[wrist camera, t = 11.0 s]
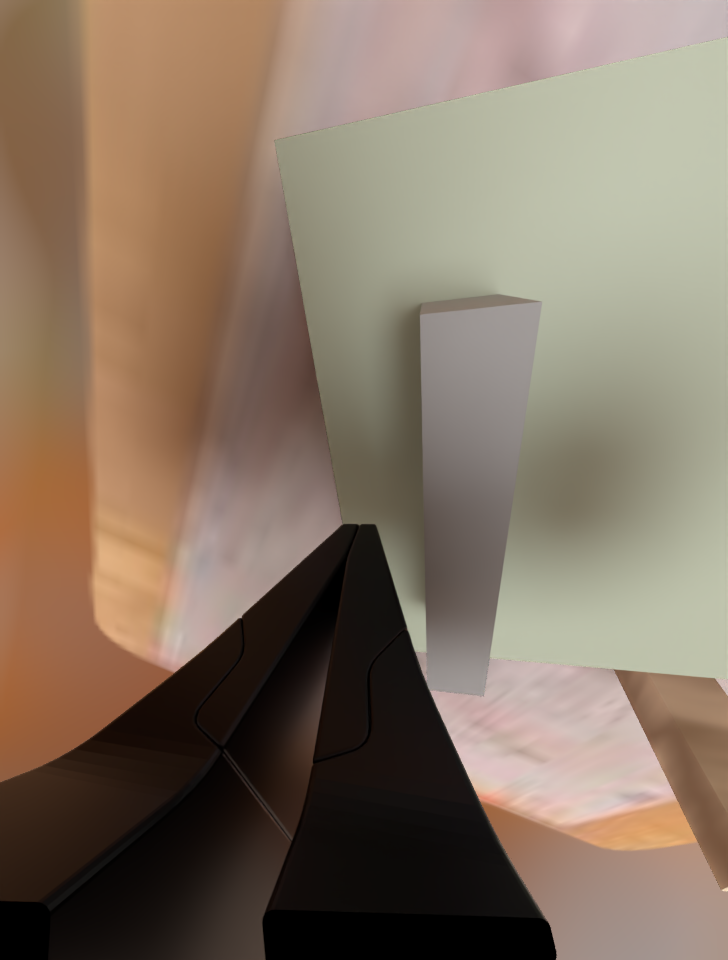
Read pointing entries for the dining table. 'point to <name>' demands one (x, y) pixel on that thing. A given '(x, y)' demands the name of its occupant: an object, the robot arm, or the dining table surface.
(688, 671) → the lid
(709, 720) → the brown wooden block
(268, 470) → the dining table surface
